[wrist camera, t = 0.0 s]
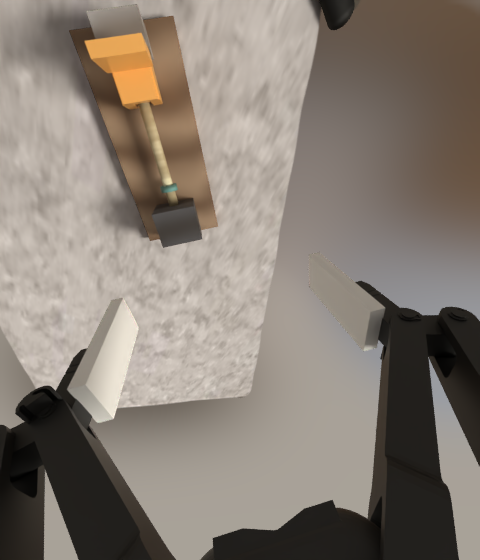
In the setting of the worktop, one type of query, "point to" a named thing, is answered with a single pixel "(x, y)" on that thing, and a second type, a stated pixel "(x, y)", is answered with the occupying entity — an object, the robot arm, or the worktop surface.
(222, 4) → the worktop surface
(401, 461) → the robot arm
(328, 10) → the door handle
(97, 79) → the rail
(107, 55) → the orange sliding rod block
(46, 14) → the worktop surface
